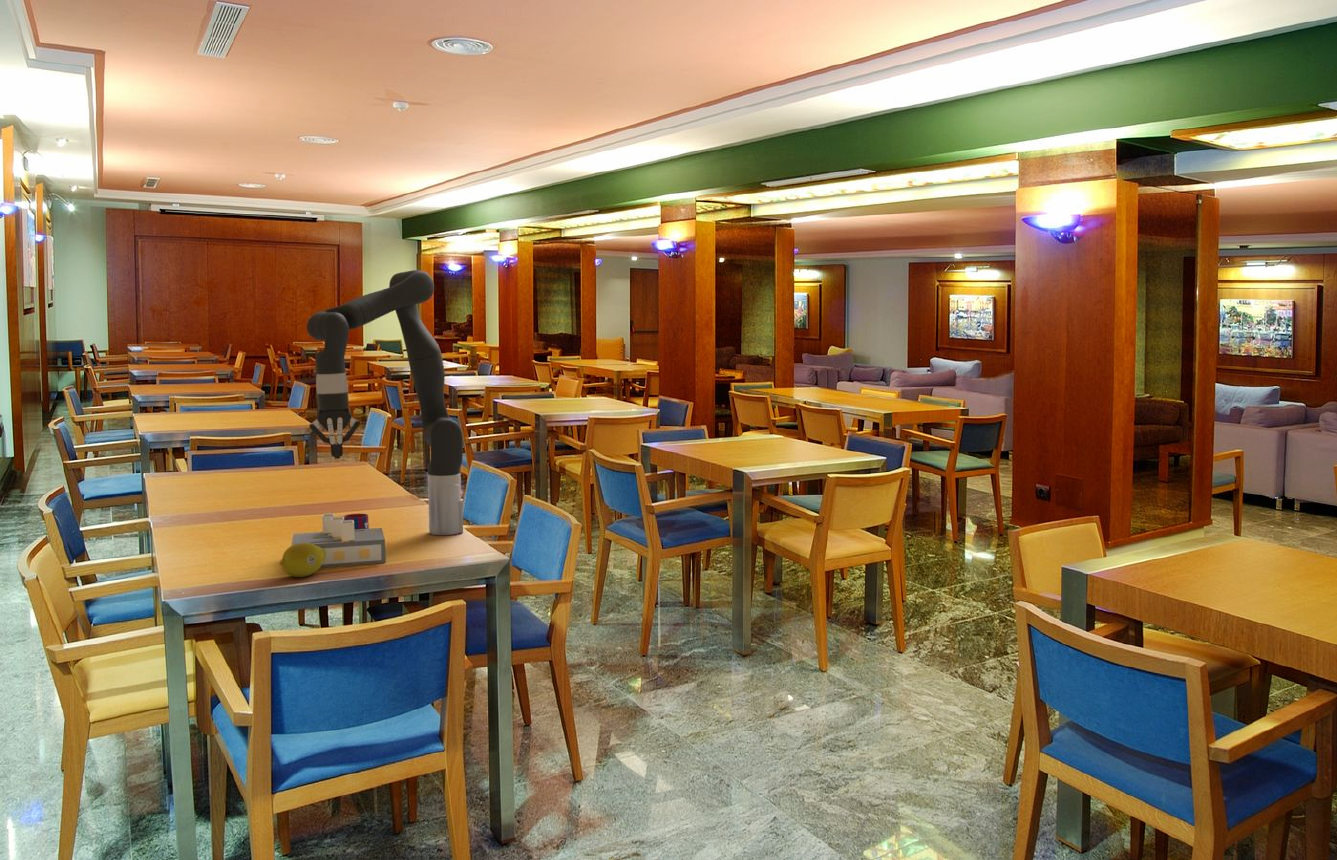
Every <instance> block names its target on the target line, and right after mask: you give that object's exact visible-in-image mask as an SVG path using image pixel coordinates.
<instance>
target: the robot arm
mask: <svg viewBox="0 0 1337 860" xmlns="http://www.w3.org/2000/svg"><path fill="white" fill-rule="evenodd" d="M434 292H435V283H434V281H433V278H432V277H431V275H430V274H429V273H428V272H426V271H424V270H420V269H419V270H418V269H417V270H413V269H412V270H409V271H402V272H397V273H396V274H393V275H392V277H391V278H390V280H389V287H387V288H383V289H380V290H377V291H374V292H371V293H368V294H364V295H361V296H359V297H356V298H353V299H352V300H349V301H347V302H345V303H343V304H340V305H338V306H334V307H331V308H330V307H329V308H326V309H324V310H321V311H318V312H315V313H314V314H312V315H311V316H310V317H309V319H308V321H307V323H306V331H307V333H308V335H309V336H310V338H312V339H314V340H315V341H316V340H317V341H324V346H323V347H324V348H323V349H322V350H320V351H318V352H317V353H316V354H315V368H316V369H315V371H316V381H315V386H316V398H317V399H316V400H317V411H318V412H317V415H316V419H315V420H314V421H313V422H311V423H309V424H308V426H309V429H310V430H311V431H312V432H314V434H315V435H316V436H317V437H318V438H319V439H320V440H321V441H322V443H326V444H329V445H330V454H331V457H333V458H334V460H336V459H341V457H343V454H344V451H343V449H344V448H343V444H344V443H345V442H348V441H349V440H350V439H351V437H352V436H353V435H354V433H355V432H356V431H357V430H358V428H359V427H360V425H361V422H360V421H359V420H358V419H356V418H354V417H353V416H352V413H351V412H350V411H351V410H350V405H349V404H350V402H349V386H348V380H347V379H348V378H347V375H346V363H345V362H346V360H345V355H346V351H347V345H348V340H349V335H350V334H349V333H350V330H356V329H358V328H360V327H363V326H365V325H367V324H369V323H371V322H373V321H375V320H377V319H380V318H382V317H383V316H386V315H388V314H390V313H392V312H394V311H395V314H396V316H397V319H398V323H399V326H400V329H401V334H402V337H403V341H404V345H405V350H406V354H407V360H408V364H409V369H410V374H411V377H412V380H413V381H412V382H413V384H414V388H415V392H416V396H417V399H418V403H419V407H420V415H421V416H420V417H421V426H422V431H423V432H422V433H423V438H424V440H425V442H426V444H427V445H429V446H430V461H429V463H428V465H427V492H428V493H427V497H428V499H427V501H428V530H429V534H431V535H433V536H434V535H435V536H452V535H457V534H463V533H464V515H463V514H464V511H463V509H464V508H463V500H462V481H461V480H462V479H461V474H462V473H461V471H462V469H461V468H462V465H463V456H464V455H463V453H464V452H463V451H464V449H463V447H464V446H463V445H464V441H463V431H462V428H461V426H460V425H459V423H458V422H457V421H456V420H453V419H451V418H450V416H449V413H448V410H447V405H446V402H445V381H446V380H445V374H446V373H445V367H444V361H443V357H442V352H441V348H440V346H439V344H438V342H437V341H436V339H435V338H434V336H433V335H432V333H430V330H428V328H427V327H426V326H425V324H424V323H423V321H422V318H421V315H420V312H419V308H418V305H419V304H423V303H425V302H427V301H429V300H430V299H431V298H432V296H433V295H434ZM349 422H350V423H349ZM348 424H349V426H350V427H349V429H348V430H347V432H346V433H345V435H343V430H345V428H346V427H347V426H348ZM320 425H321V426H322V428H324V430H326V431H327V432H328V437H327V436H326V435H325V434H324V433H323V432H322V431H321V430H320ZM335 431H336V438H335Z"/></svg>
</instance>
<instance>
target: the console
mask: <svg viewBox="0 0 1337 860" xmlns="http://www.w3.org/2000/svg"><path fill="white" fill-rule="evenodd" d="M354 535H355V540H351V541H342V537H332V533H326V534H323V531H316V532H301V533H293V534H292V541H291V546H293V545H295V544H299V543H310V544H314V545H316V546H318V547H320V548H323V549H324V550H325V551H326V557H325V560H324V561H323V562H322V565H321V566H320V568H319V569H323V568H324V569H325V568H334V567H335V568H336V567H347V566H358V565H362V566H363V565H371V564H372V565H373V564H384V563H386V562H387V561H386V560H387V559H386V539H385V534H384V531H383V528H382V527H377V528H376V527H375V528H369V529H357V530H354ZM291 546H290V547H291Z"/></svg>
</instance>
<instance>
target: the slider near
mask: <svg viewBox="0 0 1337 860" xmlns="http://www.w3.org/2000/svg"><path fill="white" fill-rule="evenodd" d="M341 529H342V541H351V540H355V535H354V520H342V521H341Z"/></svg>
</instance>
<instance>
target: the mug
mask: <svg viewBox="0 0 1337 860" xmlns="http://www.w3.org/2000/svg"><path fill="white" fill-rule="evenodd" d="M343 517H344V520H354V530H357V529H370V528H369V527H370V526H369V514H367V513H350V514H345V515H343Z"/></svg>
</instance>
